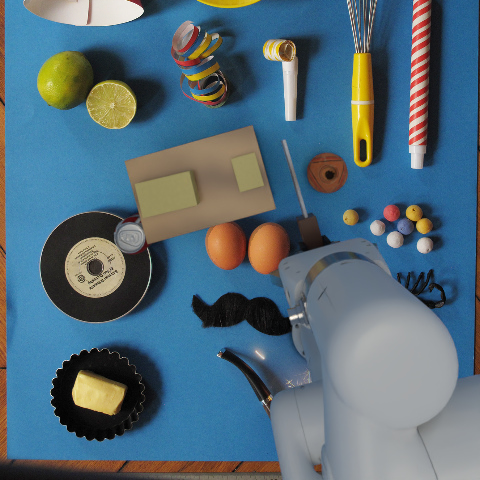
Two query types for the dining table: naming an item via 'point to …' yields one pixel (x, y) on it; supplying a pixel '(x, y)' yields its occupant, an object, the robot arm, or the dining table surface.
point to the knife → (304, 211)
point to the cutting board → (203, 183)
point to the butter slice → (247, 172)
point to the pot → (327, 172)
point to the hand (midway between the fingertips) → (314, 250)
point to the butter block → (167, 194)
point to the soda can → (131, 235)
